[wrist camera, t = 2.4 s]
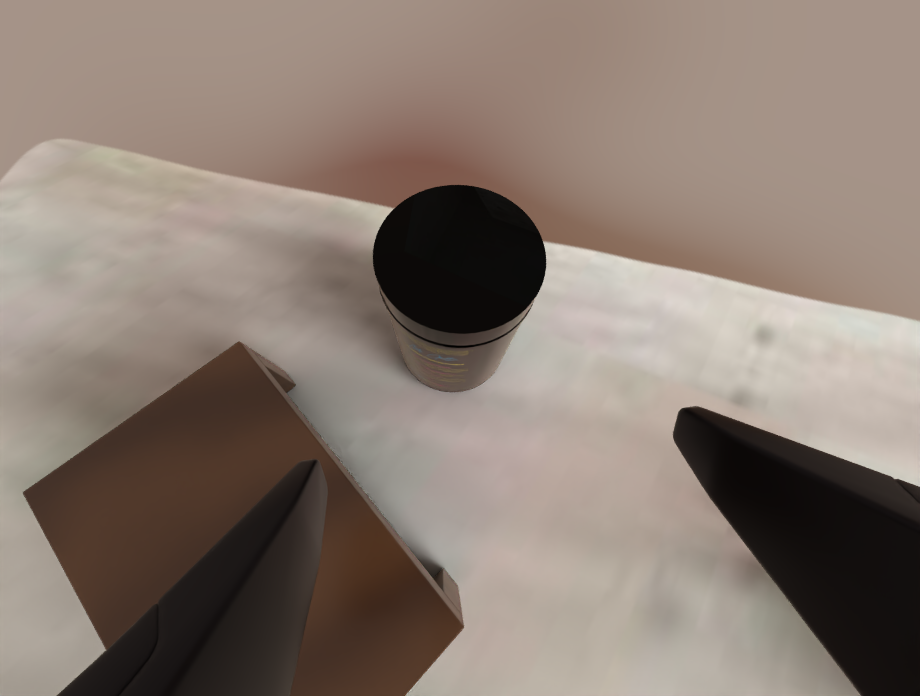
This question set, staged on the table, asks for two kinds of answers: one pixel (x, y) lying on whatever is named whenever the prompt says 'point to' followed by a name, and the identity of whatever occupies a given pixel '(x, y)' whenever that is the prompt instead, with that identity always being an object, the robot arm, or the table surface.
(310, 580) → the robot arm
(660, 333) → the table surface
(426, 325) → the supplement container
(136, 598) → the shelf
